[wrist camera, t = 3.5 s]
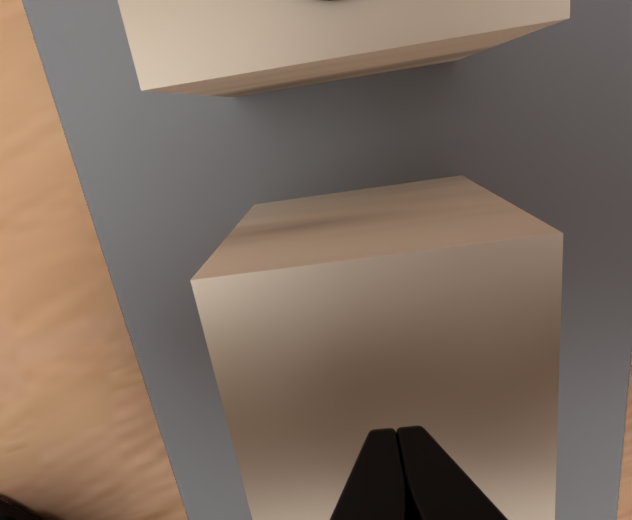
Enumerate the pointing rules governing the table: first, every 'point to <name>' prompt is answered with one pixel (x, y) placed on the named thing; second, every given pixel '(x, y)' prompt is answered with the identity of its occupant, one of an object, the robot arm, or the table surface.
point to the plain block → (387, 340)
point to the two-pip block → (312, 39)
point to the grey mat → (347, 175)
